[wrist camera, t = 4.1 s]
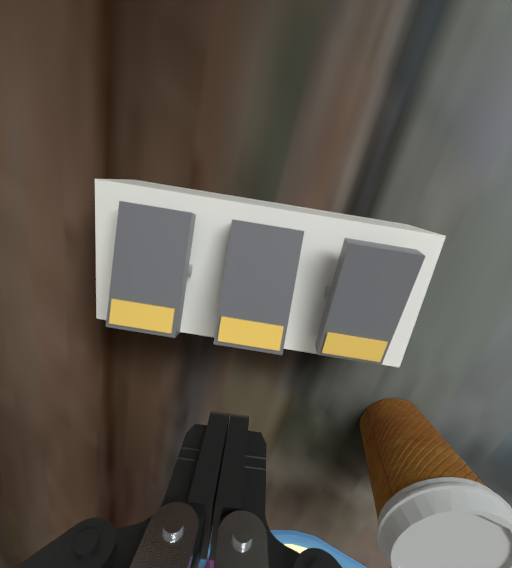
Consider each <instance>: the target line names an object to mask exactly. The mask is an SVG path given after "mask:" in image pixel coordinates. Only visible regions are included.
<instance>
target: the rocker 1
mask: <svg viewBox="0 0 512 568" xmlns="http://www.w3.org/2000/svg"><path fill="white" fill-rule="evenodd" d="M195 218H196V215H195V214H193V213H191V212H185V211H179V210H173V209H166V208H160V207H154V206H148V205H142V204H136V203H130V202H124V201H119V209H118V218H117V227H116V236H115V245H114V255H113V264H112V273H111V282H110V291H109V301H108V310H107V319H106V327H110V328H116V329H123V330H129V331H135V332H141V333H147V334H154V335H160V336H166V337H172V338H175V337H176V336H177V335H178V334H179V333H180V328H181V320H182V313H183V306H184V298H185V291H186V284H187V277H188V269H189V262H190V255H191V247H192V240H193V233H194V225H195Z"/></svg>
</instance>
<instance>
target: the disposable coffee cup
mask: <svg viewBox="0 0 512 568" xmlns="http://www.w3.org/2000/svg"><path fill="white" fill-rule="evenodd" d="M360 431H361V436H362V441H363V446H364V451H365V456H366V461H367V466H368V471H369V476H370V481H371V487H372V492H373V496H374V501H375V507H376V511H377V517H378V526H377V541H378V546H379V549H380V551H381V553H382V555H383V556H384V558H385V559H386V560H387V561H388V562H389V563H390V564H391V566H392V568H512V508H511V507H510V506H509V504H508V503H507V502H506V501H505V500H503V499H502V498H501V497H500V496H499V495H498V494H496V493H494V492H493V491H492V490H491V489H489V488H488V487H486V486H485V485H484V484H483V482H482V481H481V480H480V479H479V478H477V476H476V475H475V474H474V472H473V471H471V469H470V468H469V467H468V466H467V465H466V463H465V462H464V461H463V460H462V459H461V458H460V456H459V455H458V454H457V453H456V452H455V451H454V450H453V449H452V447H450V445H449V444H448V443H447V442H446V441H445V439H444V438H443V437H442V436H441V435H440V434H439V433H438V432H437V431H436V429H435V428H434V427H433V426H432V425H431V424H430V423H429V422H428V420H427V419H426V418H424V416H423V414H422V413H421V412H420V411H419V410H418V409H417V407H415V406H414V405H413V404H412V403H410V402H408V401H406V400H403V399H397V398H390V399H384V400H381V401H378V402H376V403H374V404H372V405H371V406H370V407H368V408H367V409H366V411H365V412H364V413H363V415H362V416H361V419H360Z"/></svg>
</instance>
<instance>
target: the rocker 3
mask: <svg viewBox="0 0 512 568" xmlns="http://www.w3.org/2000/svg"><path fill="white" fill-rule="evenodd" d="M424 259H425V255H424V254H422V253H421V252H420V251H418V250H417V249H411V248H405V247H398V246H392V245H386V244H380V243H374V242H368V241H362V240H356V239H349V238H345V239H344V242H343V246H342V249H341V253H340V257H339V260H338V264H337V267H336V271H335V274H334V278H333V282H332V285H331V289H330V292H329V296H328V299H327V303H326V307H325V310H324V314H323V317H322V321H321V325H320V328H319V332H318V335H317V339H316V342H315V347H316V352H317V355H323V356H330V357H336V358H342V359H348V360H354V361H361V362H367V363H373V364H379V365H382V363H383V360H384V358H385V355H386V353H387V350H388V348H389V345H390V343H391V340H392V338H393V335H394V333H395V331H396V328H397V326H398V323H399V321H400V318H401V316H402V313H403V311H404V308H405V306H406V303H407V301H408V298H409V296H410V293H411V291H412V288H413V286H414V284H415V281H416V279H417V276H418V274H419V271H420V269H421V266H422V264H423V261H424Z"/></svg>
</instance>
